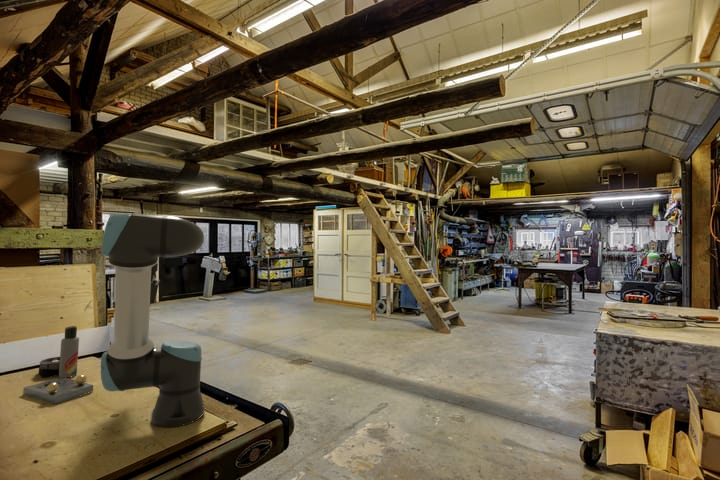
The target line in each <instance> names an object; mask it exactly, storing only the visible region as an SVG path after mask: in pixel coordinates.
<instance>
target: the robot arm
mask: <svg viewBox="0 0 720 480" xmlns="http://www.w3.org/2000/svg"><path fill="white" fill-rule="evenodd" d="M102 236H103V237H102V243H101V248H100V249H101V251H100V252H101V255H102V256H105V257H108V264H109V265H110V266H112V267H113V268H114V269H115V272H114V273H115V274H114V280H115V281H114V284H115V285H114V331H113V332H114V337H113V339H114V341H113V342H112V343H111V344H110V345H108V348H107V351H104V352H103V353H102V355H101V357H100V358H101V359H100V379H101V384H102V386H103V389H104V390H106V391H108V392H125V391H128V390H138V389H146V388H154V387H159V392H158V396H157V399H156V401H155V405H154V408H153V409H152V411H151V418H150V422H151V423H152V424H153V425H154V426H157V427H161V428H175V426H176V427H181V426H180V425H182V426H184V425H183V424H186V425H188V424H187V423H189V424H191V423H190V422H192V421H194V422H196V421H197V420H196V419H198V418H199V417H200V416H201V415H202V414H203V413H204V414H205V407H206V406H205V403H204V402H203V401H204V400H203V395H202V392H201V369H202V367H201V366H202V361H203V358H202V347H201V345H200V344H198V343H197V342H193V341H189V340H181V339H179V340H177V339H176V340H166V341H164V342H162V344H161V346H159V347H158V346H157V347H154V346H155V345H154V341H152V340H151V338H149V337H150V335H149V333H150V332H149V331H150V329H149V328H150V311H151V310H150V308H151V307H150V306H151V305H152V304H154V303H155V301H156V297H157V293H158V290H159V285H160V284H161V282H162V281H161V279H158V278H157V275H156V272H158V267H159V263H158V262H159V258H174V257H175V258H177V257H182V256H187V255H190V254H193V253H195V252H197V251H198V250H200V249H201V247H202V246H203V244H204V241H205V235H204V231H203V229H202V228H201V227H199V225H197V224H196V223H194V222H192V221H189V220H187V219H184V218H181V217H176V216H170V215H169V216H165V215H152V214H151V215H150V214H141V213H131V212H129V213H113V214H111V215H110V216H109V218H108V219H107V222H106V224H105V228H104V232H103V235H102ZM195 420H196V421H195ZM198 420H199V419H198ZM192 423H193V422H192Z"/></svg>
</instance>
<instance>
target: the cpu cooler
mask: <svg viewBox="0 0 720 480" xmlns="http://www.w3.org/2000/svg"><path fill="white" fill-rule="evenodd" d="M59 365H60V356H54V357H49V358H46V359H45V358H44V359H42V360H41V361H40V362H39V366H38V375H40V377H41V378H43V377H44V378H46V377H47V378H51V377H50V376H52V377H55V376H54V375H57V376H59Z"/></svg>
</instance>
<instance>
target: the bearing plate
mask: <svg viewBox="0 0 720 480" xmlns="http://www.w3.org/2000/svg"><path fill="white" fill-rule="evenodd" d="M53 382H56V383H58V384H59V388H58V390H57V391H56V392H54V393H49V392H47V390H46V389H47V386H48V385H49V384H51V383H53ZM91 391H93V392H94V384H92V383H87V382H85V383H83V384H77V383H76V379H71V378H64V377H61V378H59V377H57V378H54V379H49V380H46V381H44V382H43V381H42V382H38V383H36V384H31V385H28V386H23V393H22V395H24V396H26V397H29V398H33V399H36V400H40V401H43V402H46V403H50V404H53V405H56V404H59V403H64V402H66V401H69V400H72V399H74V398H78V397H81V396H80V395H82V396H84V395H83V394H85V393H88V392H91ZM91 393H92V392H91ZM88 394H89V393H88ZM85 395H86V394H85Z"/></svg>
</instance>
